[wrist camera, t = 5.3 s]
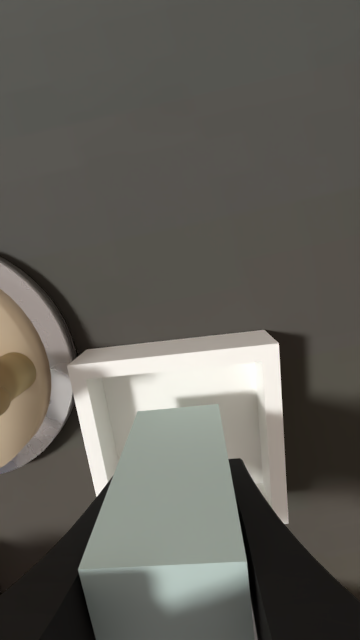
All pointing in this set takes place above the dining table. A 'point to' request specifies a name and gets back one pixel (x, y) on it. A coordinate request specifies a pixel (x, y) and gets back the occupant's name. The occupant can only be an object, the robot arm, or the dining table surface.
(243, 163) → the dining table surface
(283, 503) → the tray
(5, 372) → the crank
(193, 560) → the block
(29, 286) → the crank base
